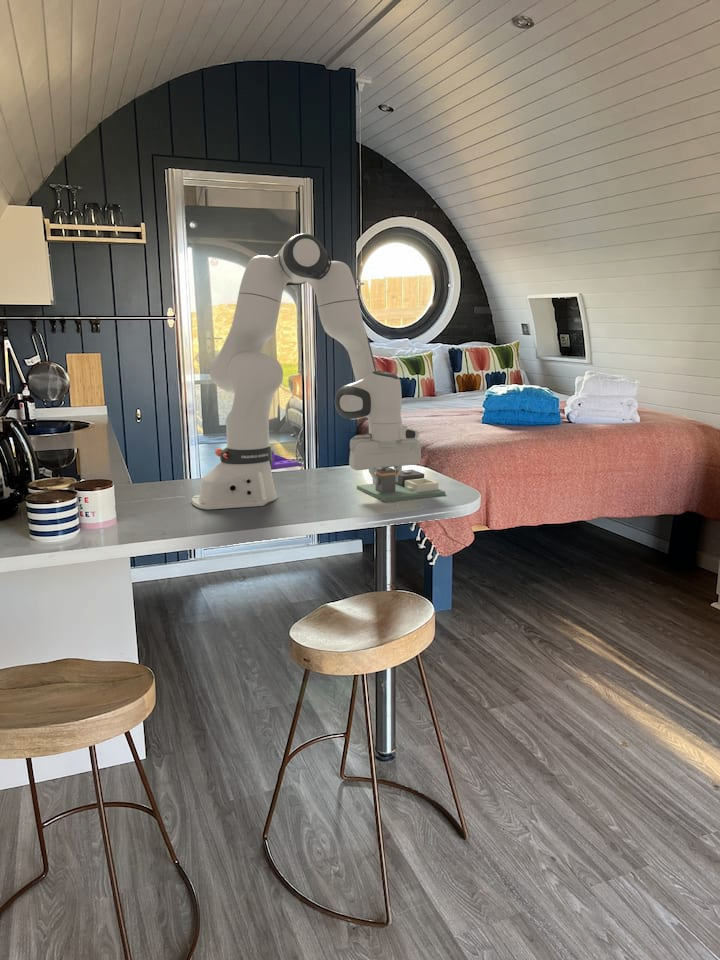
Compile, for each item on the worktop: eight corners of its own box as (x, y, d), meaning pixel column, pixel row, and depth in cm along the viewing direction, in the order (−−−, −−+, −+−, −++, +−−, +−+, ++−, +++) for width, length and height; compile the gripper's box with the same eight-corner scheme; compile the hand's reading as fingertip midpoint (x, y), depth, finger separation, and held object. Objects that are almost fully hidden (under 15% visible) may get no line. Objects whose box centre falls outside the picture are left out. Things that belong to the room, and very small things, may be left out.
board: (385, 502, 194) (385, 498, 194) (356, 488, 210) (356, 485, 210) (445, 495, 201) (445, 491, 201) (412, 482, 217) (412, 479, 217)
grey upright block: (382, 493, 200) (382, 469, 198) (375, 490, 203) (375, 466, 202) (395, 491, 201) (395, 467, 200) (388, 488, 205) (388, 465, 204)
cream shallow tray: (414, 492, 200) (414, 485, 200) (401, 487, 206) (402, 480, 206) (438, 489, 203) (438, 482, 203) (425, 485, 209) (425, 478, 209)
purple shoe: (269, 472, 236) (268, 451, 235) (260, 469, 242) (259, 448, 240) (302, 468, 242) (302, 447, 241) (293, 465, 248) (292, 444, 247)
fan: (402, 486, 207) (402, 474, 207) (390, 482, 213) (390, 470, 213) (424, 484, 210) (424, 472, 209) (412, 479, 216) (412, 468, 216)
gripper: (354, 437, 192) (355, 489, 195) (424, 431, 200) (423, 481, 203) (344, 433, 198) (345, 484, 200) (412, 428, 206) (412, 477, 209)
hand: (385, 483), depth 202 cm, fingers closed on grey upright block, 4 cm apart
